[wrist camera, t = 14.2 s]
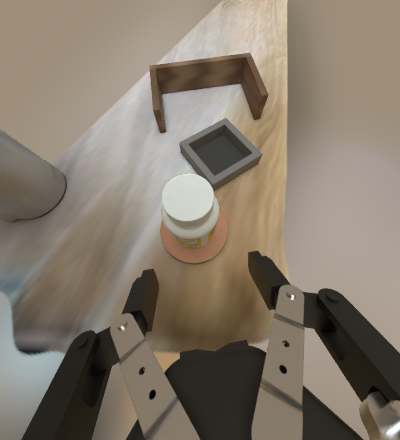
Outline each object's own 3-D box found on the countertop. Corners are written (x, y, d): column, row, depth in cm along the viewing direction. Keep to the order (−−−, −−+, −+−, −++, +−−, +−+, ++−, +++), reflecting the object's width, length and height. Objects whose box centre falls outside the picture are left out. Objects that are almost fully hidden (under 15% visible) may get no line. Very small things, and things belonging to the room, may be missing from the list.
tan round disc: (184, 277, 20) (183, 278, 19) (150, 221, 22) (148, 219, 21) (240, 238, 21) (241, 236, 20) (203, 190, 24) (203, 186, 23)
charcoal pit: (212, 191, 24) (212, 184, 22) (181, 152, 26) (179, 142, 24) (258, 163, 25) (262, 154, 23) (224, 128, 27) (225, 117, 26)
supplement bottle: (185, 257, 20) (170, 245, 10) (167, 222, 21) (139, 184, 12) (222, 236, 20) (237, 208, 11) (201, 203, 22) (200, 155, 13)
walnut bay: (160, 132, 27) (153, 110, 24) (156, 91, 31) (149, 65, 27) (259, 118, 28) (268, 94, 24) (244, 79, 31) (250, 52, 28)
